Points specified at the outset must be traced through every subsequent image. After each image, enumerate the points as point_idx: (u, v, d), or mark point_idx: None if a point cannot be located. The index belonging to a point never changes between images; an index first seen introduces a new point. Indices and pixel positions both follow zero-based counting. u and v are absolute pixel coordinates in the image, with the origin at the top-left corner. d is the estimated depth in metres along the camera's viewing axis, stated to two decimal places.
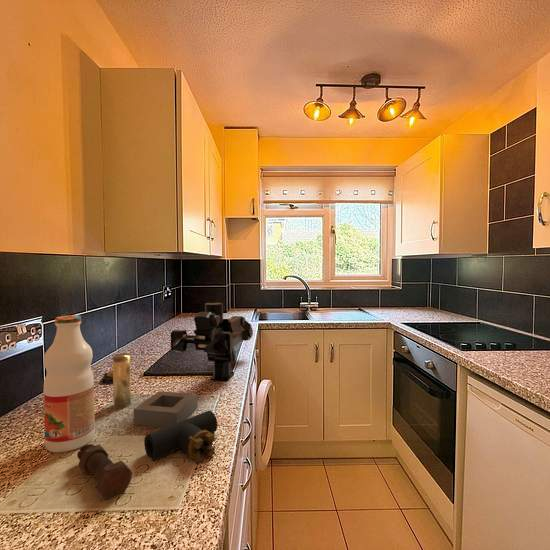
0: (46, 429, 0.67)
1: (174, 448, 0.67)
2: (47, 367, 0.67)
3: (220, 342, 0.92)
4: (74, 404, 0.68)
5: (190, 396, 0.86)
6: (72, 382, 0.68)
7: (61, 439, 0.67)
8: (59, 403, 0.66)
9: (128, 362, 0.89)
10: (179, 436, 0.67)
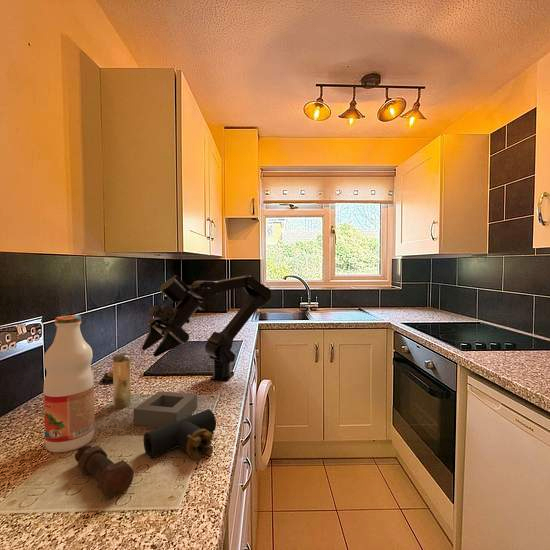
0: (46, 429, 0.67)
1: (173, 446, 0.68)
2: (47, 367, 0.67)
3: (171, 337, 0.92)
4: (74, 404, 0.68)
5: (190, 396, 0.86)
6: (72, 382, 0.68)
7: (61, 439, 0.67)
8: (59, 403, 0.66)
9: (128, 362, 0.89)
10: (178, 434, 0.68)
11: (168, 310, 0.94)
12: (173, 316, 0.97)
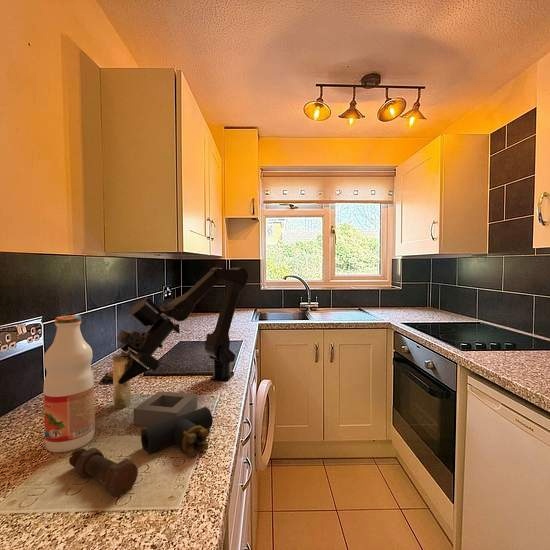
0: (46, 429, 0.67)
1: (169, 443, 0.69)
2: (47, 367, 0.67)
3: (137, 364, 0.88)
4: (74, 404, 0.68)
5: (190, 396, 0.86)
6: (72, 382, 0.68)
7: (61, 439, 0.67)
8: (59, 403, 0.66)
9: (128, 362, 0.89)
10: (174, 431, 0.69)
11: (137, 336, 0.89)
12: (144, 341, 0.91)
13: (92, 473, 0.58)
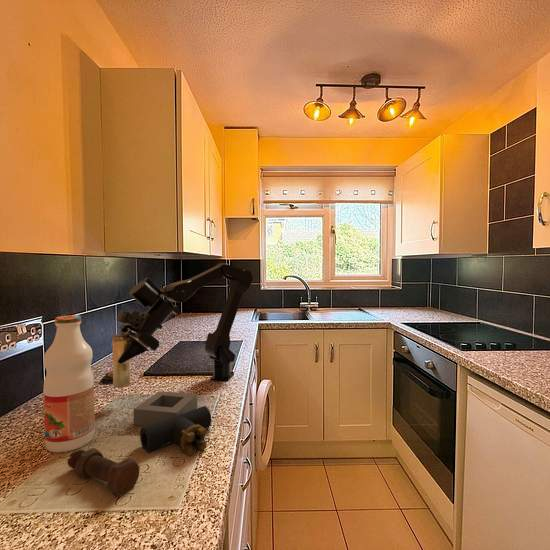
0: (46, 429, 0.67)
1: (168, 441, 0.70)
2: (47, 367, 0.67)
3: (136, 343, 0.88)
4: (74, 404, 0.68)
5: (190, 396, 0.86)
6: (72, 382, 0.68)
7: (61, 439, 0.67)
8: (59, 403, 0.66)
9: (128, 341, 0.89)
10: (173, 429, 0.70)
11: (137, 315, 0.88)
12: (143, 322, 0.91)
13: (93, 473, 0.57)
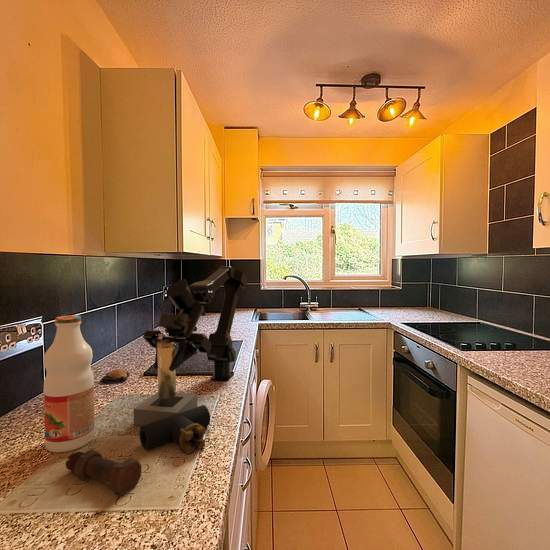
0: (46, 429, 0.67)
1: (167, 439, 0.70)
2: (47, 367, 0.67)
3: (187, 347, 0.84)
4: (74, 404, 0.68)
5: (190, 396, 0.86)
6: (72, 382, 0.68)
7: (61, 439, 0.67)
8: (59, 403, 0.66)
9: None
10: (172, 428, 0.70)
11: (187, 318, 0.84)
12: (187, 325, 0.87)
13: (94, 474, 0.57)
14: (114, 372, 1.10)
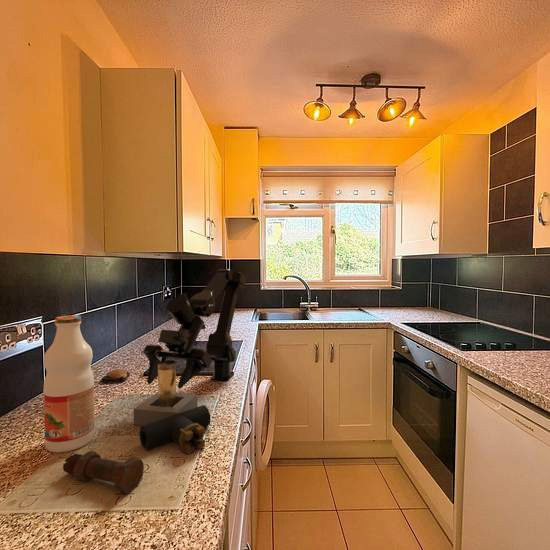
0: (46, 429, 0.67)
1: (167, 440, 0.70)
2: (47, 367, 0.67)
3: (195, 364, 0.83)
4: (74, 404, 0.68)
5: (190, 396, 0.86)
6: (72, 382, 0.68)
7: (61, 439, 0.67)
8: (59, 403, 0.66)
9: (175, 368, 0.84)
10: (172, 428, 0.70)
11: (187, 334, 0.84)
12: None
13: (95, 475, 0.57)
14: (114, 372, 1.10)
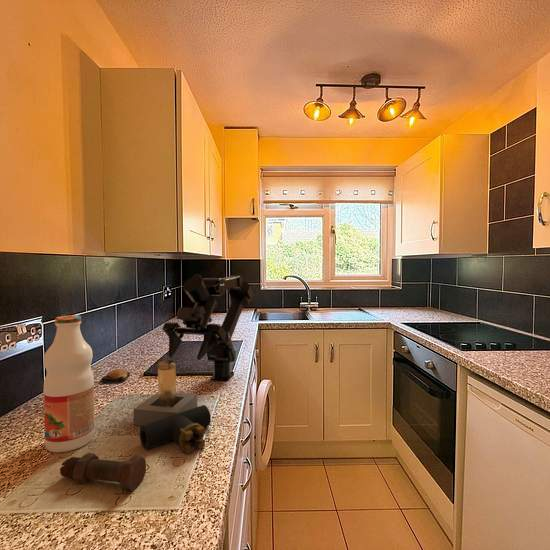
0: (46, 429, 0.67)
1: (167, 439, 0.70)
2: (47, 367, 0.67)
3: (211, 337, 0.91)
4: (74, 404, 0.68)
5: (190, 396, 0.86)
6: (72, 382, 0.68)
7: (61, 439, 0.67)
8: (59, 403, 0.66)
9: (175, 368, 0.84)
10: (172, 428, 0.71)
11: (203, 310, 0.91)
12: (203, 316, 0.94)
13: (96, 476, 0.57)
14: (114, 372, 1.10)
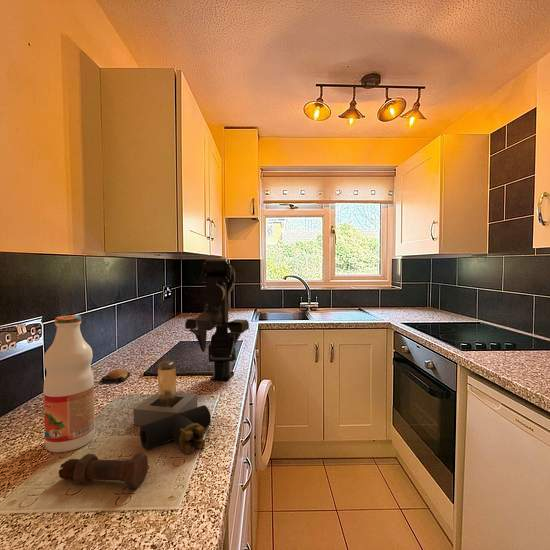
0: (46, 429, 0.67)
1: (167, 439, 0.70)
2: (47, 367, 0.67)
3: None
4: (74, 404, 0.68)
5: (190, 396, 0.86)
6: (72, 382, 0.68)
7: (61, 439, 0.67)
8: (59, 403, 0.66)
9: (175, 368, 0.84)
10: (172, 428, 0.71)
11: (220, 316, 0.89)
12: (220, 314, 0.92)
13: (98, 476, 0.57)
14: (114, 372, 1.10)
